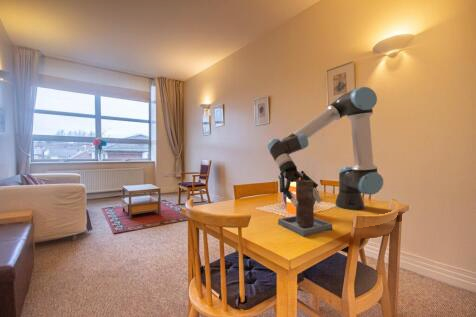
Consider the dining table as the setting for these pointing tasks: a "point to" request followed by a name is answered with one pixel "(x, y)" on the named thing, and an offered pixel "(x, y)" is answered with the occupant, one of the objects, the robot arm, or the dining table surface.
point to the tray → (295, 227)
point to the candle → (304, 203)
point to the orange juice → (290, 207)
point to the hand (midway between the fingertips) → (308, 203)
